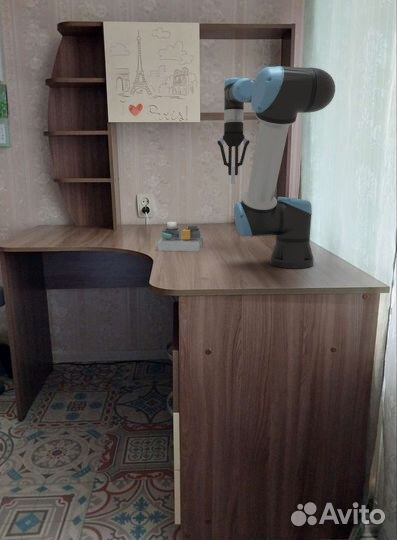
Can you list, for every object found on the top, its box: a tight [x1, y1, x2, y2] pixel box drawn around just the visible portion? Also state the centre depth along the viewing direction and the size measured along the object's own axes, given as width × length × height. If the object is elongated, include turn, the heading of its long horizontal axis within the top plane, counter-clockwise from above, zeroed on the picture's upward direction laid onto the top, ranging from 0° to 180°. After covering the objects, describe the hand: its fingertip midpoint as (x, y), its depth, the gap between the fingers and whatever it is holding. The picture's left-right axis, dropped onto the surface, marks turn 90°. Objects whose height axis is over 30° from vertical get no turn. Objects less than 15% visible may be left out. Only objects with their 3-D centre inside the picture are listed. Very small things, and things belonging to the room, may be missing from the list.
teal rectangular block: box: [160, 233, 172, 239], centre depth 176 cm, size 2×4×1 cm, turn 84°
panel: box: [157, 227, 204, 252], centre depth 179 cm, size 15×17×7 cm
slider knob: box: [181, 229, 191, 239], centre depth 175 cm, size 3×3×4 cm
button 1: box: [166, 220, 178, 230], centre depth 182 cm, size 4×4×3 cm
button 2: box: [187, 225, 198, 231], centre depth 182 cm, size 4×4×3 cm
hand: (233, 183), depth 171 cm, fingers closed
